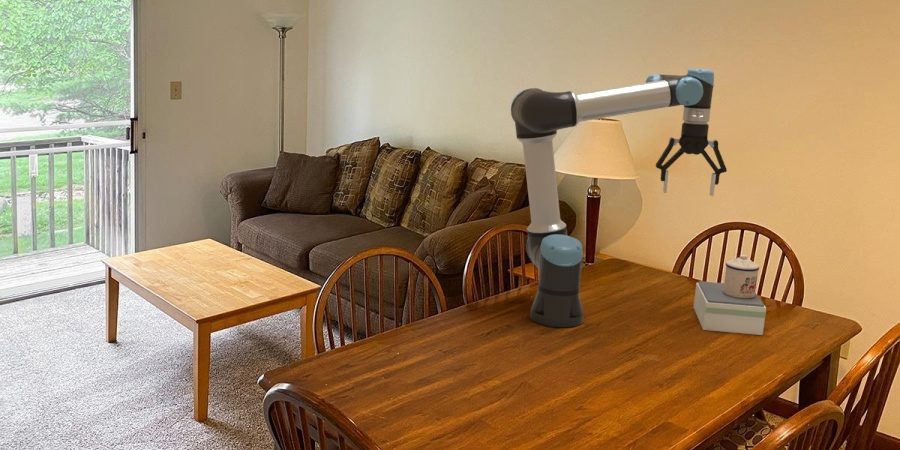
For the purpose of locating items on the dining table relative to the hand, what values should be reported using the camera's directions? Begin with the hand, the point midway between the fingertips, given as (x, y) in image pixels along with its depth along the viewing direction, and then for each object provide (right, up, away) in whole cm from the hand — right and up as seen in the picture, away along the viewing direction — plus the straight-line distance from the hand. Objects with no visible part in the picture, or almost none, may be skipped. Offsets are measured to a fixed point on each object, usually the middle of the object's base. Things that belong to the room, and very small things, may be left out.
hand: (687, 193), depth 236 cm
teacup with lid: (+13, -29, -8) cm, 33 cm away
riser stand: (+10, -37, -6) cm, 39 cm away
